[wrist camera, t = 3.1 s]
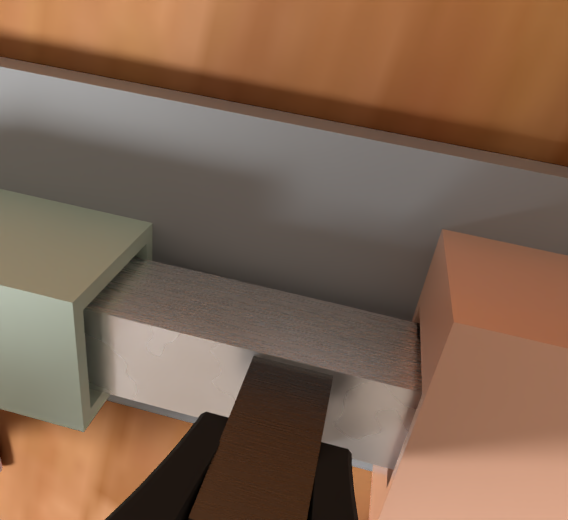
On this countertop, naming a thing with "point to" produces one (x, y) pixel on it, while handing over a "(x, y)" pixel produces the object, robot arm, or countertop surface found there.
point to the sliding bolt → (256, 378)
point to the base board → (267, 187)
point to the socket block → (486, 389)
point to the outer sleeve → (55, 301)
